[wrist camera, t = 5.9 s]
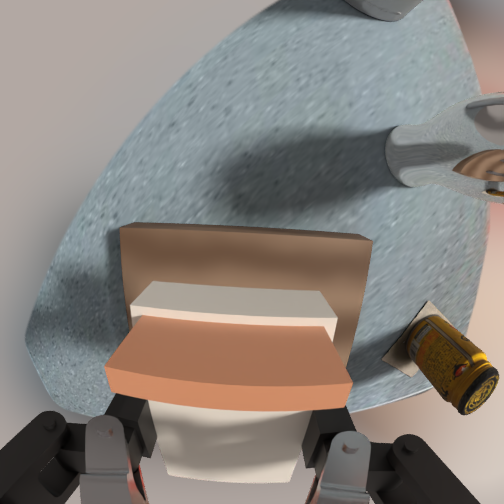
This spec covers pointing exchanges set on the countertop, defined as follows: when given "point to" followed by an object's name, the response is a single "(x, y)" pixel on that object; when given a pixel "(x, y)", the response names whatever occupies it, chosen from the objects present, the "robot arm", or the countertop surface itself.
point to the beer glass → (454, 149)
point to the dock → (251, 264)
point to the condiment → (444, 360)
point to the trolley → (230, 376)
